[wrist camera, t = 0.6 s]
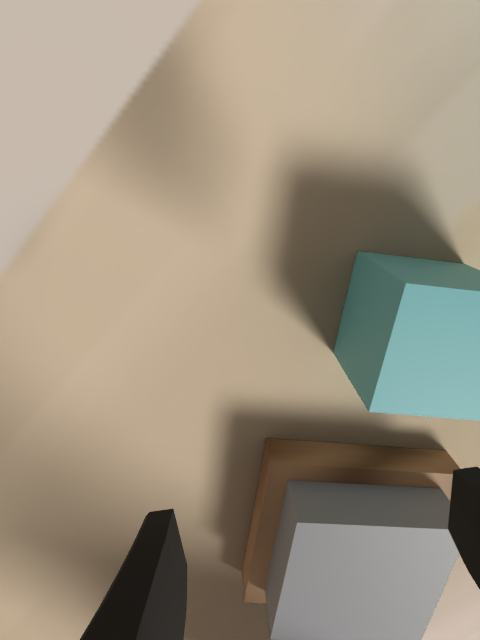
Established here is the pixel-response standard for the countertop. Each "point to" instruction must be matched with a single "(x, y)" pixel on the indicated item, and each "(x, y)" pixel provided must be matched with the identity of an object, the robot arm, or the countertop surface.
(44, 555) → the countertop surface
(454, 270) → the teal block
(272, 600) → the grey top slab
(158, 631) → the robot arm
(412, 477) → the walnut base slab
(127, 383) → the countertop surface
